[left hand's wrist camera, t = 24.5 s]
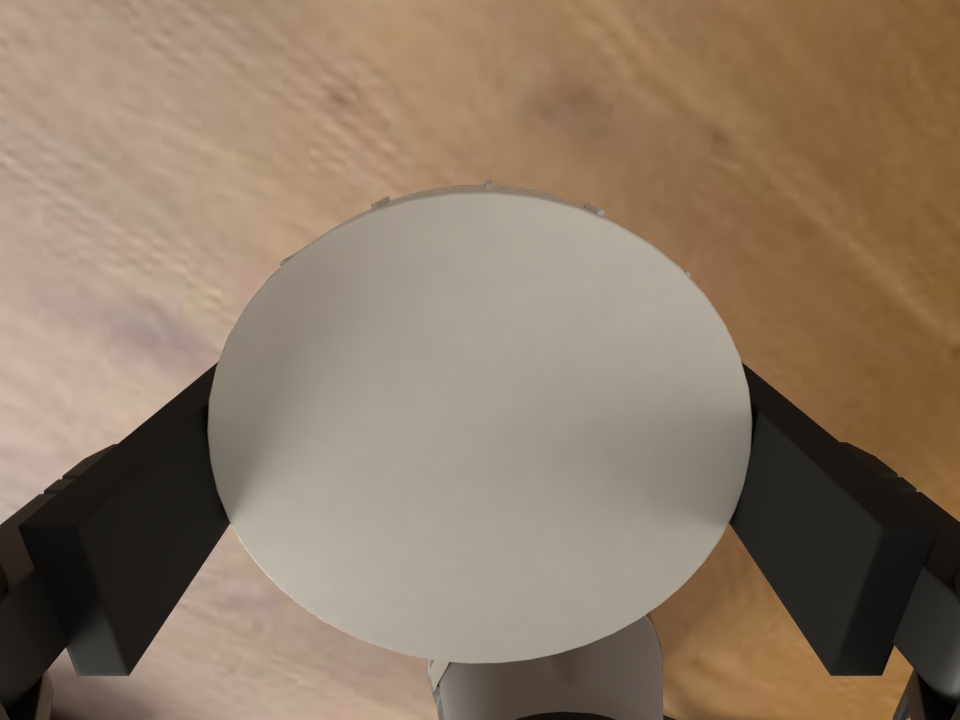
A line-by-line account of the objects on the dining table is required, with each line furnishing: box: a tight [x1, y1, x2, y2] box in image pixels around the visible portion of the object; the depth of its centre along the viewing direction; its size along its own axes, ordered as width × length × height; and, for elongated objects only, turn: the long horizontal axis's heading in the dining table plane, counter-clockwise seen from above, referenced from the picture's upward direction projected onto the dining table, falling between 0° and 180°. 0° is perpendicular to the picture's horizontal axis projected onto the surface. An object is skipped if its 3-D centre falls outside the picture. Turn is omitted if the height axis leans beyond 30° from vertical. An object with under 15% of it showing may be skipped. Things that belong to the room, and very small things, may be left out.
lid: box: [207, 180, 752, 663], centre depth 11 cm, size 10×10×2 cm
